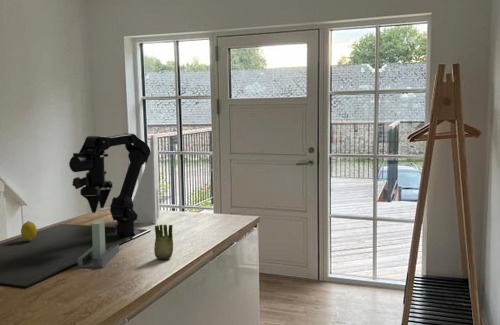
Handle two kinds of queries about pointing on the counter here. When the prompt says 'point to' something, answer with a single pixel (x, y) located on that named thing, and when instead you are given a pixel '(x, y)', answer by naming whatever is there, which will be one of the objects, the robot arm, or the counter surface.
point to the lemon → (28, 230)
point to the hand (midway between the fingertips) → (98, 210)
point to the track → (89, 262)
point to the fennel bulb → (163, 242)
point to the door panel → (98, 239)
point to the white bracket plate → (148, 188)
